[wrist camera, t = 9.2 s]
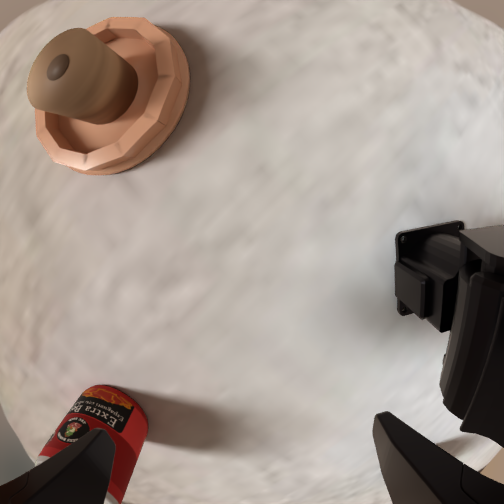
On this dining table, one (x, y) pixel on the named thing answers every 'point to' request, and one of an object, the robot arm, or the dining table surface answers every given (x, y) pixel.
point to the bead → (81, 79)
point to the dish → (138, 114)
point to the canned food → (114, 422)
